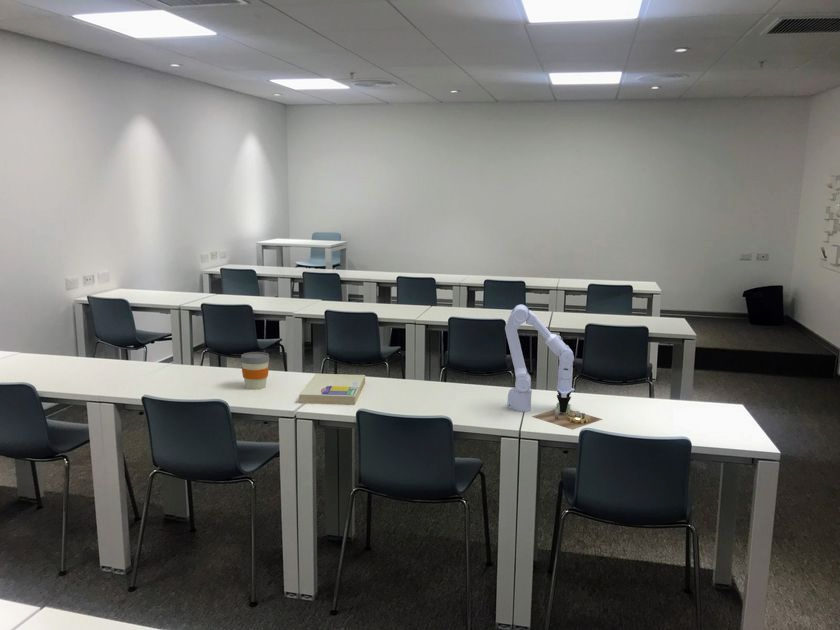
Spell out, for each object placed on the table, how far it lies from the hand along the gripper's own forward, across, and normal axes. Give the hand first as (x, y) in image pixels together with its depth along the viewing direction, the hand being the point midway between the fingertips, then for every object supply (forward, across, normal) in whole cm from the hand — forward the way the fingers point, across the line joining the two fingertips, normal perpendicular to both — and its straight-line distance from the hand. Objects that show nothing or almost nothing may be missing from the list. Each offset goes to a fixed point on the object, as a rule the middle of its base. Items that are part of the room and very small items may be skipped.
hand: (563, 410), depth 279 cm
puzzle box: (+2, +3, +100) cm, 100 cm away
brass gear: (+1, -10, -6) cm, 12 cm away
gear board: (+2, -8, -2) cm, 8 cm away
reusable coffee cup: (+2, +2, +137) cm, 137 cm away
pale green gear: (+1, 0, 0) cm, 1 cm away
